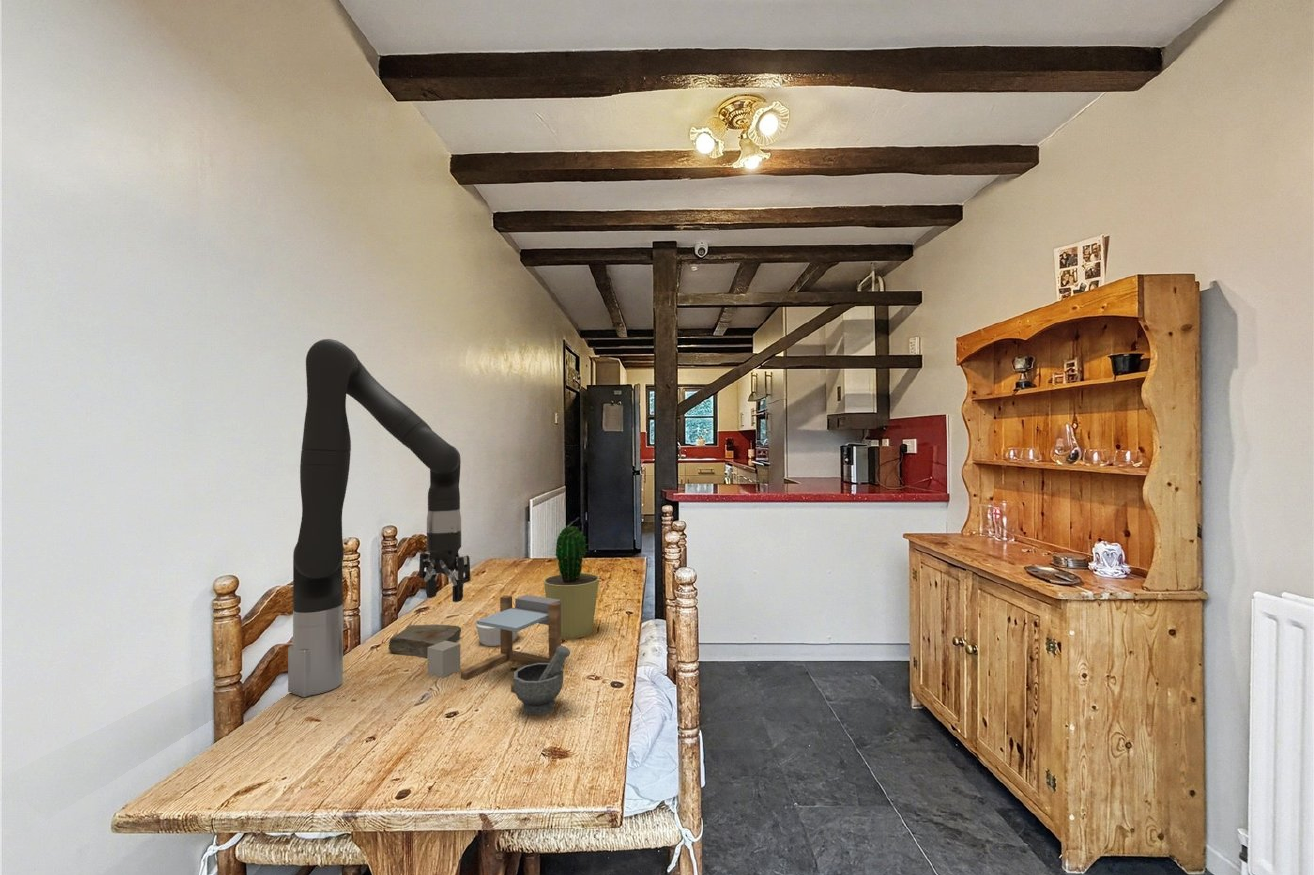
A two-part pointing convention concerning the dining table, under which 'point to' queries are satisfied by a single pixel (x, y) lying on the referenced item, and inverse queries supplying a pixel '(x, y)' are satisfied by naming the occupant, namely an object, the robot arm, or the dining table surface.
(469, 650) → the dining table surface
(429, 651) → the grey block
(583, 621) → the potted cactus
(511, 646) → the frame
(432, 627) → the dark stone slab
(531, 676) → the mortar and pestle
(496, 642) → the ramekin
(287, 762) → the dining table surface
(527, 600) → the trapdoor
